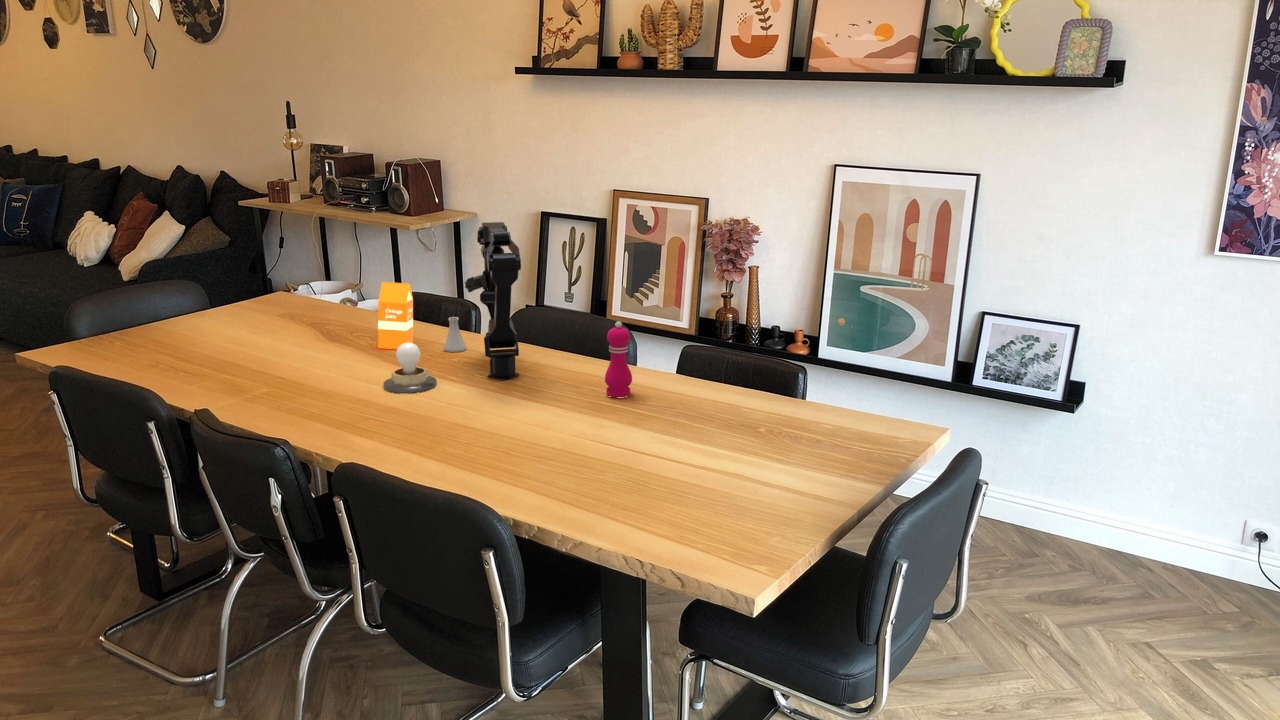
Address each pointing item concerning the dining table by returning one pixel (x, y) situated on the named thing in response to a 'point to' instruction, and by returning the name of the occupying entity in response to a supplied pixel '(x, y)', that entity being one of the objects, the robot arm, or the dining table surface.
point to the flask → (454, 337)
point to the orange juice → (395, 315)
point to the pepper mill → (618, 362)
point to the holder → (410, 381)
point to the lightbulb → (408, 357)
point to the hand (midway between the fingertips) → (496, 319)
